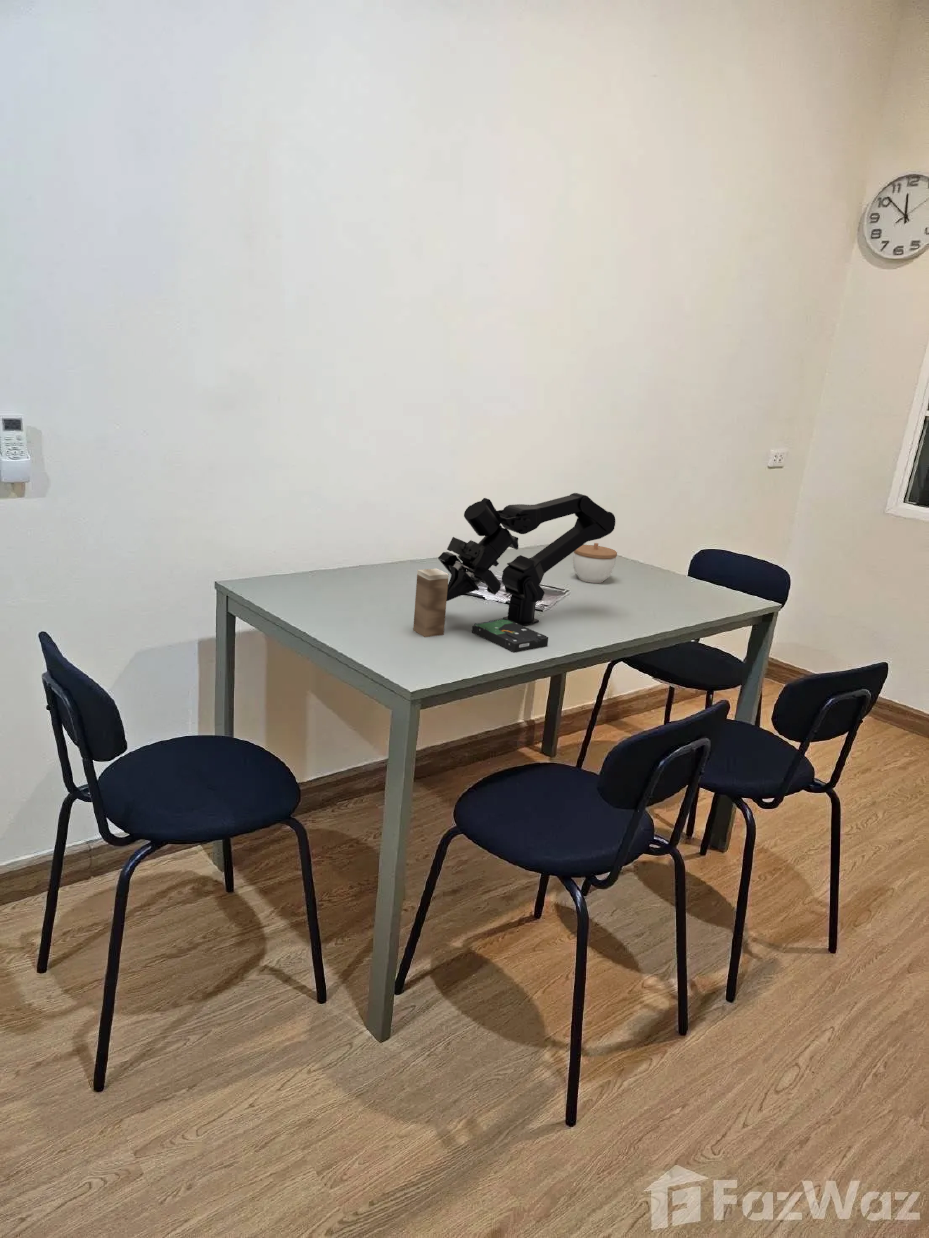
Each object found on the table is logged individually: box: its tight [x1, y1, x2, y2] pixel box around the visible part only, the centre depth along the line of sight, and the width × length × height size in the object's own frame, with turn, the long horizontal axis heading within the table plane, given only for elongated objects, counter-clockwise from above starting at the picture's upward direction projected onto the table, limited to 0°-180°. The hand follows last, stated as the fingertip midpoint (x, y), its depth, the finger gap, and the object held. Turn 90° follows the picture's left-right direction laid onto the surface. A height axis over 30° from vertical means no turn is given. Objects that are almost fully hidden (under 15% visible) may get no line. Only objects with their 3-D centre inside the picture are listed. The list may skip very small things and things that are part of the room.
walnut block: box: [413, 568, 450, 638], centre depth 189 cm, size 5×5×14 cm
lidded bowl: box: [572, 542, 618, 584], centre depth 249 cm, size 13×13×11 cm
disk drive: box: [471, 618, 549, 654], centre depth 191 cm, size 10×3×15 cm
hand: (444, 599), depth 191 cm, fingers closed
